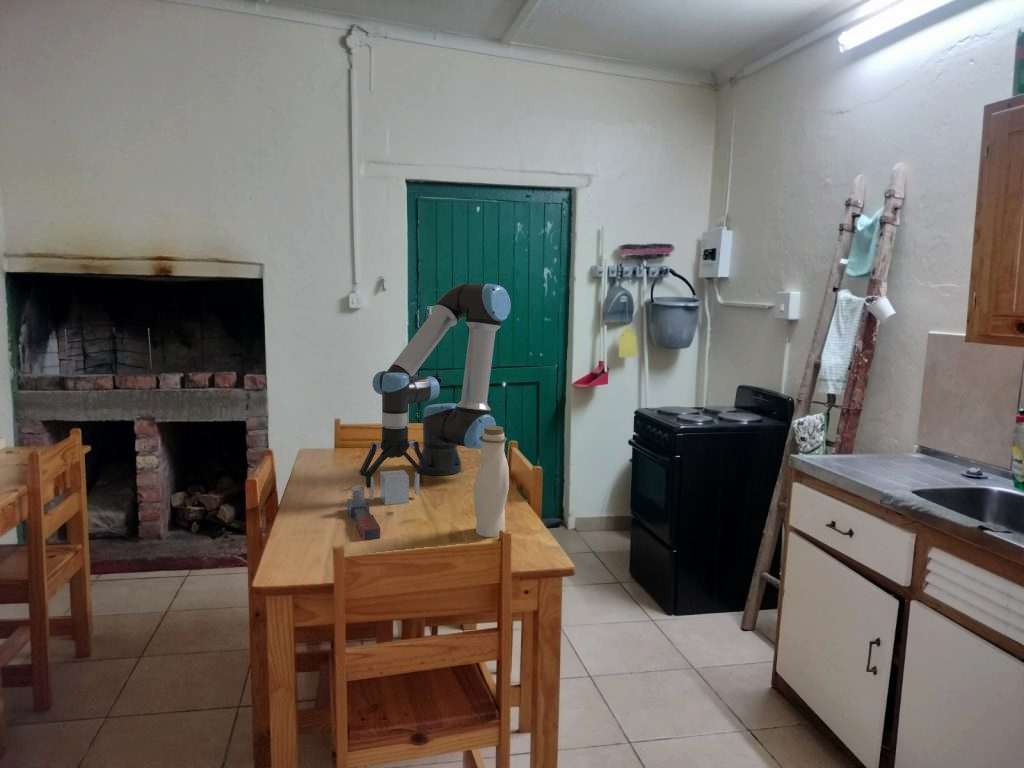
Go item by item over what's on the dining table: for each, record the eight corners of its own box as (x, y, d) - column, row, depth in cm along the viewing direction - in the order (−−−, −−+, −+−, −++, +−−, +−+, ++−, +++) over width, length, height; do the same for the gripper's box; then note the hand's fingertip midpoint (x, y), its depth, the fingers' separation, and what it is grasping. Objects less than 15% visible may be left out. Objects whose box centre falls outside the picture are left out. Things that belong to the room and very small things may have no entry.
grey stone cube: (403, 495, 206) (403, 470, 205) (408, 502, 199) (409, 476, 198) (380, 497, 203) (380, 471, 202) (385, 504, 197) (385, 478, 196)
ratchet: (364, 507, 194) (364, 484, 193) (381, 538, 172) (381, 511, 171) (347, 509, 192) (346, 485, 191) (361, 540, 170) (361, 513, 169)
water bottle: (472, 524, 184) (475, 422, 180) (505, 524, 185) (508, 423, 180) (473, 538, 174) (476, 431, 169) (508, 538, 174) (512, 432, 170)
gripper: (433, 421, 206) (431, 488, 209) (349, 425, 197) (349, 495, 200) (439, 426, 199) (438, 496, 202) (353, 430, 190) (353, 503, 193)
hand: (394, 496), depth 201 cm, fingers open, 13 cm apart
